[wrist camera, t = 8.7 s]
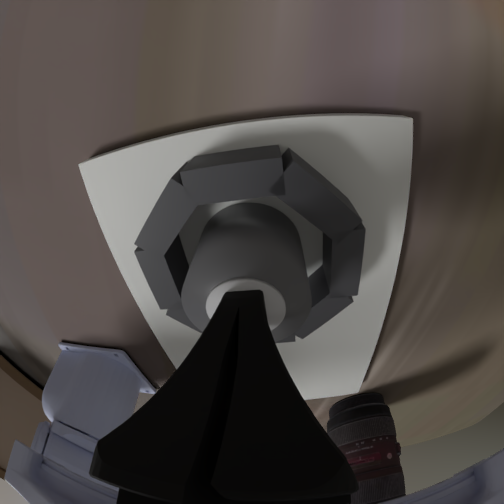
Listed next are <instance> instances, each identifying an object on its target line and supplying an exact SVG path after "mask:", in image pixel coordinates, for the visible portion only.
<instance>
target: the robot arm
mask: <svg viewBox="0 0 504 504" xmlns="http://www.w3.org/2000/svg"><path fill="white" fill-rule="evenodd" d="M58 346H59V347H60V348H61V350H62V352H61V354H60V356H59V358H58V360H57V362H56V364H55V366H54V368H53V370H52V372H51V374H50V376H49V378H48V381H47V383H46V385H45V387H44V390H43V394H42V406H43V410H44V413H45V415H46V416H47V418H48V419H49V420H50V421H51V422H52V423H51V426H50V423H49V422H47V421H44V422H39V424H38V427H37V429H36V432H35V435H34V438H33V441H32V444H31V447H30V448H29V447H28V446H26V445H25V444H23V443H22V442H20V441H18V440H17V439H16V440H15V442H14V445H13V448H12V451H11V455H10V458H9V462H8V465H7V469H6V473H5V477H4V479H5V481H6V482H7V483H9V484H10V485H11V486H12V487H13V488H14V489H15V490H16V491H17V492H18V493H19V494H20V495H22V496H23V497H24V499H25V500H26V501H27V502H28V503H29V504H351V494H353V493H356V492H357V491H358V490H359V486H358V481H357V478H356V476H355V474H354V472H353V470H352V468H351V466H350V464H349V463H348V461H347V458H346V457H345V455H344V454H343V453H342V452H341V450H340V449H339V448H338V447H337V446H336V444H335V443H334V442H333V440H332V439H331V438H330V437H329V435H328V434H327V433H326V431H325V430H324V429H323V427H322V426H321V424H320V423H319V422H318V420H317V419H316V417H315V416H314V414H313V413H312V411H311V410H310V408H309V407H308V405H307V403H306V402H305V400H304V399H303V397H302V396H301V394H300V392H299V390H298V389H297V387H296V385H295V383H294V382H293V380H292V378H291V376H290V374H289V372H288V370H287V368H286V366H285V364H284V362H283V360H282V357H281V355H280V353H279V351H278V348H277V346H276V343H275V341H274V338H273V335H272V333H271V330H270V327H269V324H268V320H267V313H266V307H265V300H264V294H263V291H261V290H260V289H259V290H245V291H231V292H226V293H225V294H224V295H223V297H222V299H221V301H220V303H219V305H218V307H217V309H216V310H215V312H214V314H213V316H212V318H211V319H210V321H209V323H208V324H207V326H206V328H205V329H204V331H203V333H202V334H201V336H200V338H199V339H198V341H197V342H196V344H195V345H194V346H193V348H192V349H191V351H190V352H189V354H188V355H187V357H186V358H185V359H184V361H183V362H182V363H181V365H180V366H179V367H178V369H177V370H176V371H175V372H174V373H173V375H172V376H171V377H170V378H169V379H168V381H167V382H166V383H165V384H164V385H163V386H162V387H161V388H160V389H159V390H158V391H157V393H156V389H155V388H154V387H153V386H152V385H151V383H150V382H149V381H148V380H147V379H146V378H145V376H144V375H143V374H142V373H141V372H140V370H139V369H138V368H137V367H136V365H135V364H134V363H133V362H132V360H131V359H130V358H129V356H128V355H127V354H126V353H125V352H124V351H122V350H118V349H108V348H99V347H91V346H83V345H76V344H70V343H63V342H60V343H59V344H58ZM139 392H143V393H150V394H155V393H156V394H155V395H154V396H153V397H152V398H151V399H150V400H149V401H148V402H147V403H146V404H144V405H143V406H142V407H141V408H140V409H139V410H138V411H137V412H135V413H134V414H133V412H134V409H135V405H136V402H137V398H138V395H139ZM378 504H504V448H503V449H502V450H500V451H498V452H497V453H495V454H494V455H492V456H490V457H488V458H487V459H484V460H482V461H480V462H478V463H476V464H474V465H472V466H470V467H468V468H466V469H464V470H463V471H461V472H459V473H457V474H455V475H454V476H453V477H451V478H449V479H446V480H444V481H442V482H440V483H437V484H435V485H432V486H430V487H428V488H425V489H423V490H420V491H417V492H414V493H412V494H408V495H405V496H402V497H399V498H396V499H393V500H389V501H386V502H382V503H378Z"/></svg>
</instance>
